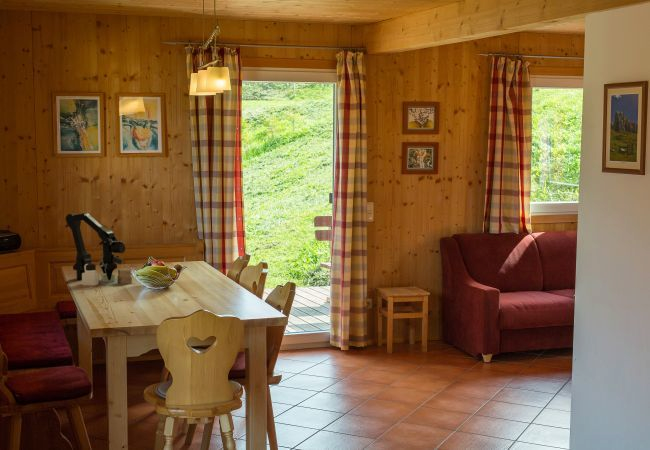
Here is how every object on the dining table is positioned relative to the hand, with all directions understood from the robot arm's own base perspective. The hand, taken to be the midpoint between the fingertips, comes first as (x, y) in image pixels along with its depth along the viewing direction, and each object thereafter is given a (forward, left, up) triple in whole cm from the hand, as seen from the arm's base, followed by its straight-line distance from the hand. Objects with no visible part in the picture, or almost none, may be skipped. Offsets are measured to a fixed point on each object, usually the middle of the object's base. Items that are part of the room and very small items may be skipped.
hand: (108, 279), depth 491 cm
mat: (+7, +2, -1) cm, 7 cm away
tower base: (+13, +6, -1) cm, 14 cm away
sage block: (0, 0, -1) cm, 1 cm away
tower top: (+13, +6, +3) cm, 15 cm away
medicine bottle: (+8, -12, -2) cm, 14 cm away
